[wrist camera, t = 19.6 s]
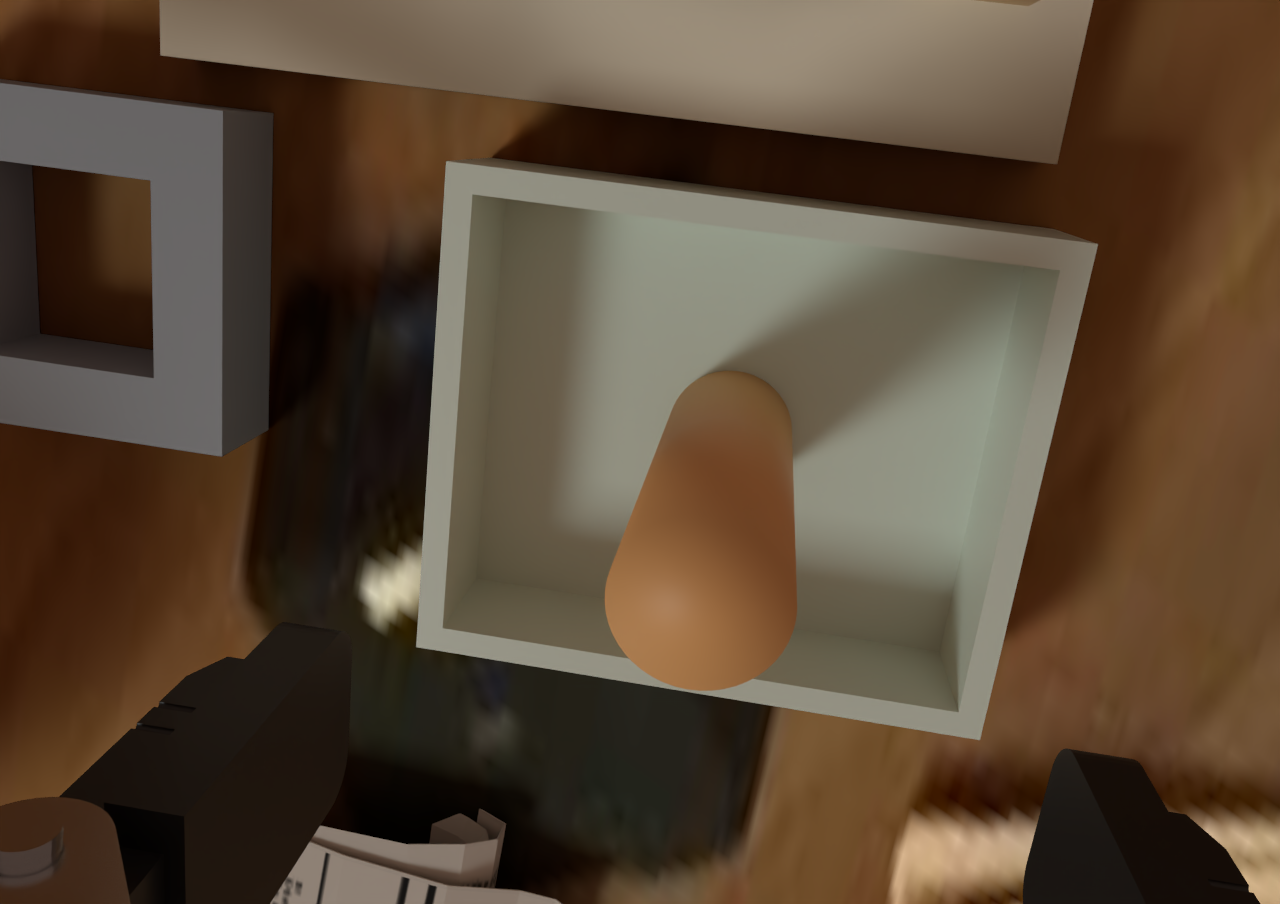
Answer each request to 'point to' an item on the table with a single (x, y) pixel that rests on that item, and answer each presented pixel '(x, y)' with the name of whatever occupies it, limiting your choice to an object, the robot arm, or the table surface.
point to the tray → (801, 374)
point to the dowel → (711, 541)
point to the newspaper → (405, 868)
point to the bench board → (693, 59)
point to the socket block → (181, 270)
